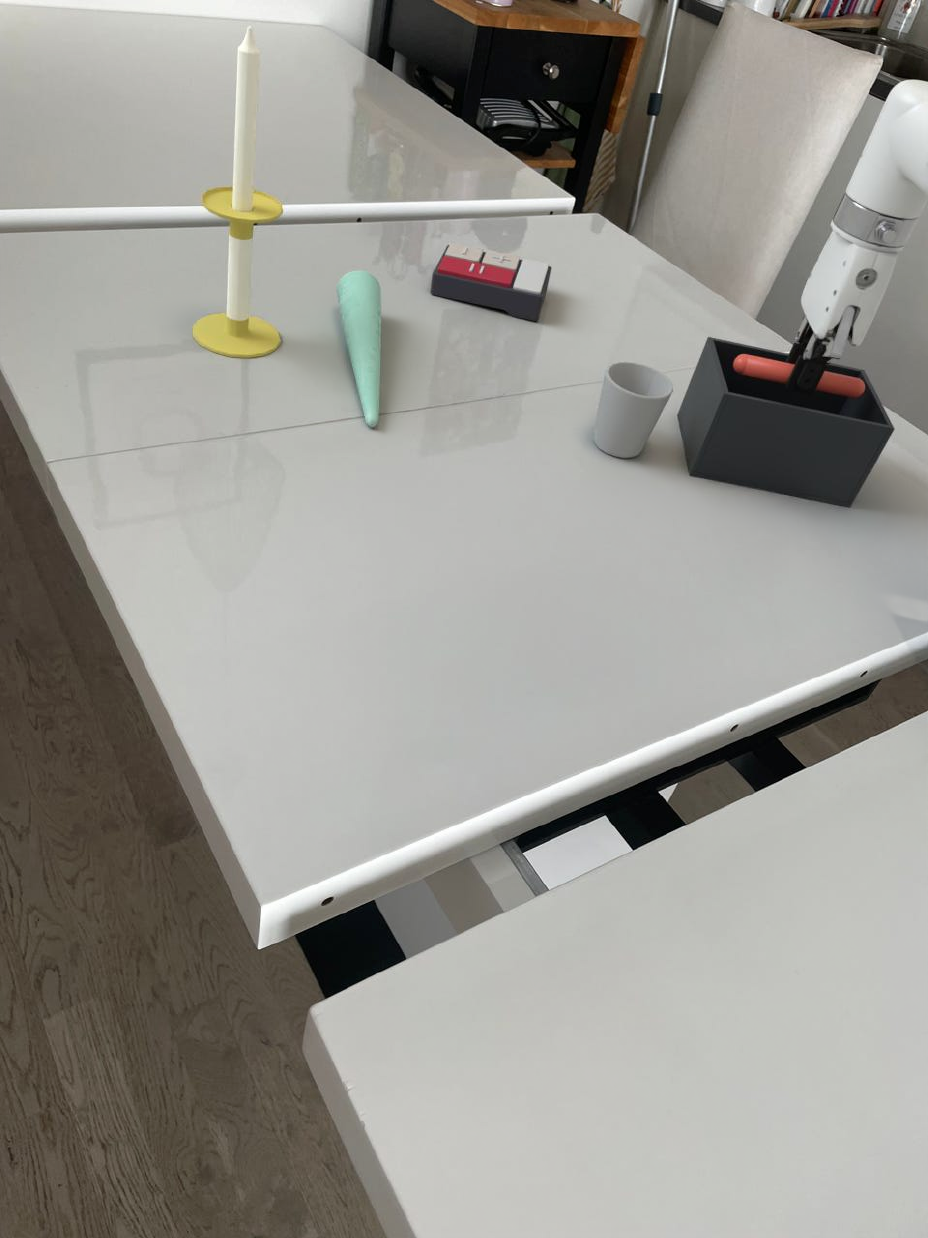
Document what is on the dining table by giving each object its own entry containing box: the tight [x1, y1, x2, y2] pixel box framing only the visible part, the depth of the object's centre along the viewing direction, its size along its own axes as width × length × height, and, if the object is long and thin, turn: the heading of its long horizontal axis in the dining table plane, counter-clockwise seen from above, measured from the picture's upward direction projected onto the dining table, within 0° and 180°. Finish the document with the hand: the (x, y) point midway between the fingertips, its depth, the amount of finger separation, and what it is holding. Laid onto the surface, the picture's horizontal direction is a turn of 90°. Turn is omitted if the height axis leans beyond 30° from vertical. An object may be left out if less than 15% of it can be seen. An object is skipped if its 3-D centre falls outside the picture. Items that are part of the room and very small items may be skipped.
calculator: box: [430, 242, 552, 322], centre depth 134 cm, size 11×4×15 cm
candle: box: [192, 19, 284, 359], centre depth 103 cm, size 10×10×32 cm
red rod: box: [733, 354, 865, 398], centre depth 109 cm, size 15×2×2 cm, turn 87°
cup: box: [592, 361, 674, 459], centre depth 111 cm, size 8×10×8 cm
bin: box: [676, 336, 896, 508], centre depth 113 cm, size 19×13×11 cm
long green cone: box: [336, 269, 382, 428], centre depth 113 cm, size 5×6×27 cm
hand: (796, 383), depth 110 cm, fingers closed on red rod, 2 cm apart
